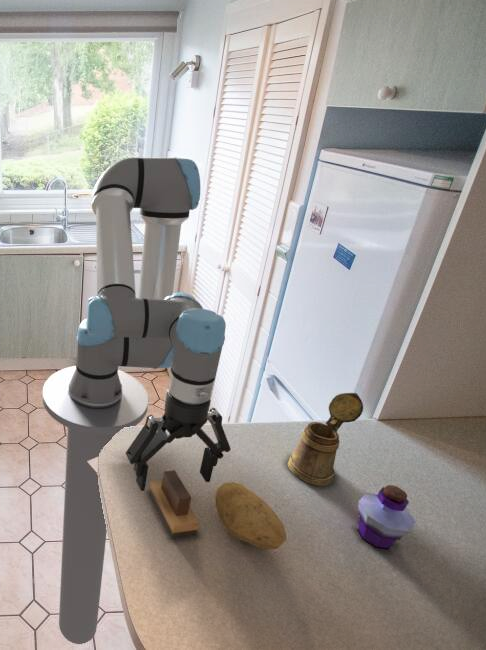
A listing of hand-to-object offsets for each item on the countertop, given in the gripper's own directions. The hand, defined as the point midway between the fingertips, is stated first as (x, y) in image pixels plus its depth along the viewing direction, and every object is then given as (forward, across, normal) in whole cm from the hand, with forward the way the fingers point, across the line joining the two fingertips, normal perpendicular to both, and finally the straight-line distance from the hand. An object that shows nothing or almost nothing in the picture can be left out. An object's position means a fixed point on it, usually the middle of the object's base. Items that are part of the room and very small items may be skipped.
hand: (172, 481), depth 90 cm
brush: (+7, 0, -2) cm, 7 cm away
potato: (+7, +12, -8) cm, 16 cm away
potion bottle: (+7, +36, -13) cm, 39 cm away
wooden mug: (+7, +38, +5) cm, 39 cm away
